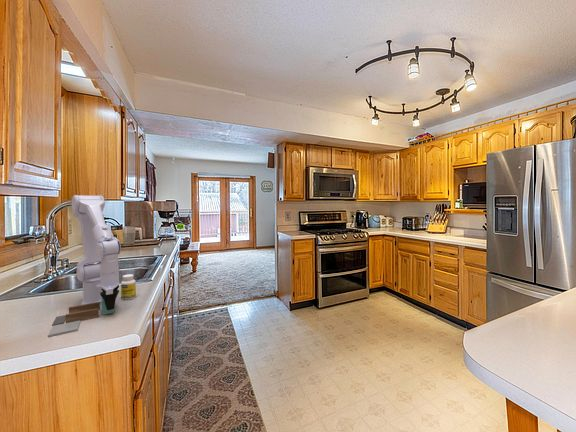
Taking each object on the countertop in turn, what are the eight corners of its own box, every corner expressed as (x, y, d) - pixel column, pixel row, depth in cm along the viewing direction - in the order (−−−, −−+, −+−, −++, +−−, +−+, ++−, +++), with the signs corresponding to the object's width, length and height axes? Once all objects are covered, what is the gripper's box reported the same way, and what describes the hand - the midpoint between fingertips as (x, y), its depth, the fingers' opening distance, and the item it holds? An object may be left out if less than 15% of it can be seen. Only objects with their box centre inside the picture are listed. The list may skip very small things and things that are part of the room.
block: (101, 310, 95) (101, 297, 95) (114, 308, 98) (114, 295, 97) (101, 314, 92) (101, 301, 92) (114, 311, 94) (114, 298, 94)
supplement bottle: (119, 301, 105) (119, 278, 104) (122, 296, 109) (121, 274, 109) (134, 299, 107) (134, 276, 106) (136, 294, 112) (136, 273, 111)
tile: (53, 327, 82) (52, 325, 82) (80, 322, 86) (80, 320, 86) (47, 337, 77) (47, 335, 77) (77, 330, 81) (77, 328, 80)
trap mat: (56, 317, 89) (56, 316, 89) (67, 315, 91) (67, 314, 91) (51, 326, 83) (51, 324, 83) (63, 323, 85) (63, 322, 85)
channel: (69, 314, 92) (69, 306, 91) (100, 309, 97) (99, 301, 96) (65, 323, 85) (65, 315, 85) (98, 317, 90) (98, 309, 90)
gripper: (97, 269, 98) (98, 302, 99) (94, 278, 86) (96, 317, 87) (119, 266, 102) (120, 299, 103) (119, 275, 90) (120, 312, 91)
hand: (110, 307), depth 95 cm, fingers closed on block, 4 cm apart
